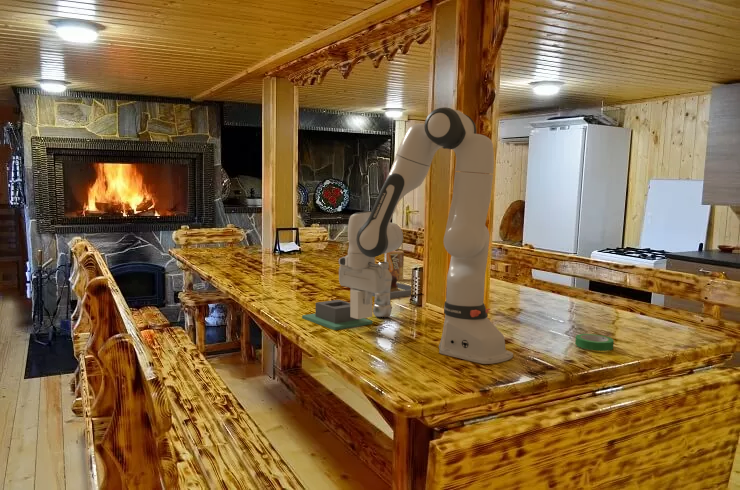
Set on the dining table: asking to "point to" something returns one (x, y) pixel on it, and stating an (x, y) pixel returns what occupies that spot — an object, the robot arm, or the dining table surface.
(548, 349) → the dining table surface
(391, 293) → the burger tray
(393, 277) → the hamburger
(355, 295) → the plug
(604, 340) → the tape roll
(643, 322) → the dining table surface
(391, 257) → the candy box
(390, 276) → the plastic bottle
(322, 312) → the header board
